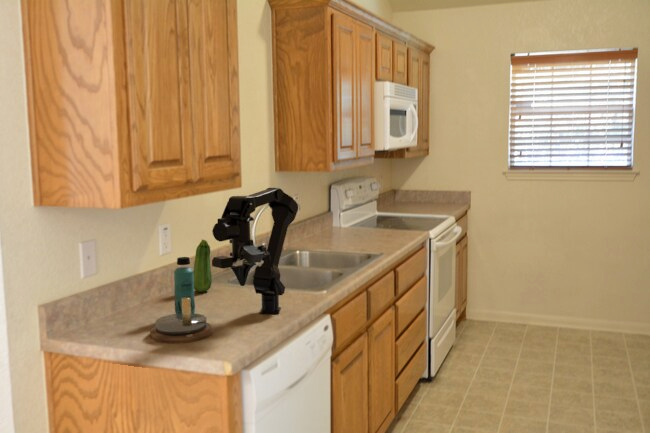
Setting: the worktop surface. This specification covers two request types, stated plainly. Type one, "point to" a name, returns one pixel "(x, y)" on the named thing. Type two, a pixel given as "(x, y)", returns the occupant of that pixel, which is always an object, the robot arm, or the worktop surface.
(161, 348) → the worktop surface
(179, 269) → the beverage bottle
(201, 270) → the vegetable
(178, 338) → the stand base
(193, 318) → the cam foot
